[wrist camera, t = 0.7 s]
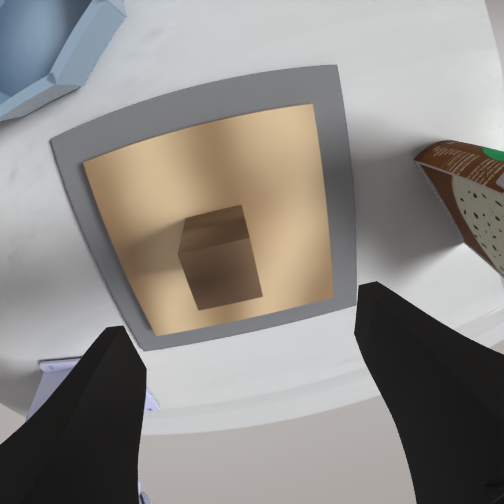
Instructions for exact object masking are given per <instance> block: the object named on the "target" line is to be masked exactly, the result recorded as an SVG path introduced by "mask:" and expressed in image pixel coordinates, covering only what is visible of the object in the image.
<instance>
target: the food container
mask: <svg viewBox="0 0 504 504" xmlns="http://www.w3.org/2000/svg"><path fill="white" fill-rule="evenodd" d="M414 162H415V163H416V164H417V166H418V167H419V169H420V170H421V172H422V173H423V175H424V176H425V178H426V179H427V181H428V182H429V184H430V185H431V187H432V189H433V190H434V192H435V193H436V195H437V197H438V198H439V200H440V201H441V203H442V205H443V206H444V208H445V210H446V212H447V213H448V215H449V217H450V219H451V220H452V222H453V224H454V226H455V227H456V229H457V231H458V233H459V235H460V237H461V239H462V241H463V243H465V244H466V245H467V246H468V247H469V248H471V249H472V250H473V251H474V252H475V253H476V254H478V255H479V256H480V257H481V258H482V259H483V260H484V261H486V262H487V263H488V264H489V265H490V266H491V267H492V268H493V269H494V270H495V271H497V272H498V273H499V274H500V275H501V276H502V277H503V278H504V152H503V151H499V150H495V149H491V148H486V147H482V146H477V145H473V144H468V143H463V142H458V141H453V140H450V141H442V142H438V143H435V144H433V145H431V146H429V147H428V148H426V149H425V150H423V151H422V152H421V153H420V154H419V155H418V156H417V157H416V158H415V159H414Z"/></svg>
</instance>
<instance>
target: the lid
mask: <svg viewBox="0 0 504 504" xmlns="http://www.w3.org/2000/svg"><path fill="white" fill-rule="evenodd" d="M83 164H84V167H85V170H86V174H87V177H88V180H89V183H90V185H91V188H92V191H93V194H94V197H95V200H96V202H97V205H98V208H99V211H100V213H101V216H102V218H103V221H104V224H105V226H106V229H107V231H108V234H109V236H110V239H111V241H112V243H113V246H114V248H115V251H116V253H117V255H118V258H119V260H120V262H121V265H122V267H123V269H124V271H125V273H126V276H127V278H128V280H129V282H130V284H131V287H132V289H133V291H134V293H135V295H136V297H137V299H138V301H139V303H140V305H141V307H142V309H143V311H144V313H145V315H146V317H147V319H148V321H149V323H150V325H151V327H152V329H153V331H154V333H155V334H156V336H161V335H166V334H172V333H178V332H183V331H188V330H194V329H199V328H204V327H209V326H214V325H219V324H224V323H229V322H233V321H238V320H243V319H247V318H252V317H256V316H261V315H265V314H269V313H274V312H278V311H282V310H286V309H290V308H294V307H298V306H302V305H306V304H310V303H314V302H318V301H322V300H326V299H330V298H333V281H332V265H331V250H330V238H329V226H328V215H327V205H326V196H325V187H324V178H323V170H322V162H321V155H320V148H319V141H318V134H317V127H316V121H315V115H314V109H313V104H309V103H308V104H300V105H293V106H287V107H280V108H274V109H268V110H263V111H257V112H252V113H247V114H242V115H237V116H232V117H228V118H223V119H219V120H214V121H210V122H206V123H202V124H198V125H194V126H190V127H186V128H183V129H179V130H176V131H172V132H168V133H165V134H162V135H158V136H155V137H152V138H148V139H145V140H142V141H139V142H136V143H133V144H130V145H127V146H124V147H121V148H118V149H115V150H113V151H110V152H107V153H104V154H102V155H99V156H96V157H94V158H91V159H89V160H87V161H85V162H83Z"/></svg>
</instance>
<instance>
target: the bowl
mask: <svg viewBox="0 0 504 504" xmlns="http://www.w3.org/2000/svg"><path fill="white" fill-rule="evenodd" d="M125 18H126V12H125V7H124V1H123V0H0V121H4V120H9V119H13V118H18V117H23V116H26V115H27V114H29V113H31V112H33V111H34V110H36V109H38V108H40V107H41V106H43V105H45V104H47V103H49V102H51V101H53V100H55V99H57V98H58V97H60V96H62V95H64V94H67V93H69V92H71V91H73V90H75V89H77V88H79V87H81V86H84V85H85V83H86V81H87V79H88V77H89V76H90V74H91V72H92V70H93V68H94V67H95V65H96V63H97V61H98V60H99V58H100V56H101V55H102V53H103V51H104V50H105V48H106V46H107V45H108V43H109V42H110V40H111V38H112V37H113V35H114V34H115V32H116V31H117V29H118V28H119V26H120V25H121V23H122V22H123V20H124V19H125Z"/></svg>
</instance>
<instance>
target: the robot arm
mask: <svg viewBox="0 0 504 504" xmlns="http://www.w3.org/2000/svg"><path fill="white" fill-rule="evenodd" d="M354 335H355V337H356V340H357V343H358V346H359V349H360V351H361V354H362V356H363V359H364V361H365V363H366V365H367V367H368V369H369V371H370V373H371V375H372V377H373V379H374V381H375V383H376V385H377V387H378V389H379V391H380V393H381V395H382V397H383V399H384V401H385V403H386V405H387V407H388V408H389V411H390V413H391V415H392V417H393V419H394V422H395V424H396V427H397V429H398V433H399V436H400V438H401V442H402V445H403V448H404V451H405V455H406V458H407V462H408V465H409V469H410V473H411V477H412V482H413V486H414V491H415V495H416V502H417V504H504V355H503V354H501V353H499V352H496V351H494V350H492V349H489V348H487V347H485V346H483V345H481V344H479V343H477V342H475V341H473V340H471V339H469V338H467V337H465V336H463V335H461V334H460V333H458V332H456V331H454V330H453V329H451V328H449V327H448V326H446V325H444V324H442V323H441V322H439V321H438V320H436V319H434V318H433V317H431V316H430V315H428V314H426V313H425V312H423V311H422V310H420V309H419V308H417V307H416V306H414V305H413V304H411V303H410V302H408V301H407V300H405V299H404V298H402V297H401V296H399V295H398V294H396V293H395V292H393V291H391V290H390V289H388V288H387V287H385V286H384V285H382V284H380V283H379V282H377V281H376V282H371V283H367V284H363V285H359V289H358V301H357V312H356V322H355V331H354ZM39 367H40V368H41V370H42V371H43V372H44V373H43V376H42V378H41V381H40V383H39V386H38V388H37V391H36V393H35V396H34V398H33V401H32V404H31V406H30V409H29V412H28V415H27V418H26V422H25V423H24V424H23V425H22V426H21V427H20V428H19V429H18V430H17V431H16V432H14V433H13V434H12V435H11V436H10V437H9V438H8V439H6V440H5V441H4V442H3V443H2V444H0V504H152V502H151V500H150V498H149V497H148V495H147V494H146V493H144V492H142V491H140V488H141V482H140V481H138V453H139V444H140V436H141V429H142V422H143V414H144V412H157V411H159V408H160V407H159V405H158V404H157V402H156V401H155V400H154V398H153V397H152V396H151V394H150V393H149V392H148V390H147V389H146V372H147V369H146V367H145V365H144V363H143V361H142V360H141V358H140V356H139V354H138V352H137V351H136V349H135V347H134V345H133V343H132V341H131V339H130V337H129V335H128V334H127V332H126V330H125V328H124V326H115V327H107V328H106V329H105V330H104V331H103V332H102V333H101V334H100V335H99V337H98V338H97V339H96V340H95V341H94V343H93V344H92V345H91V346H90V348H89V349H88V350H87V351H86V353H85V354H84V355H83V356H82V358H78V359H68V360H57V361H44V362H41V363H40V365H39Z"/></svg>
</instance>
